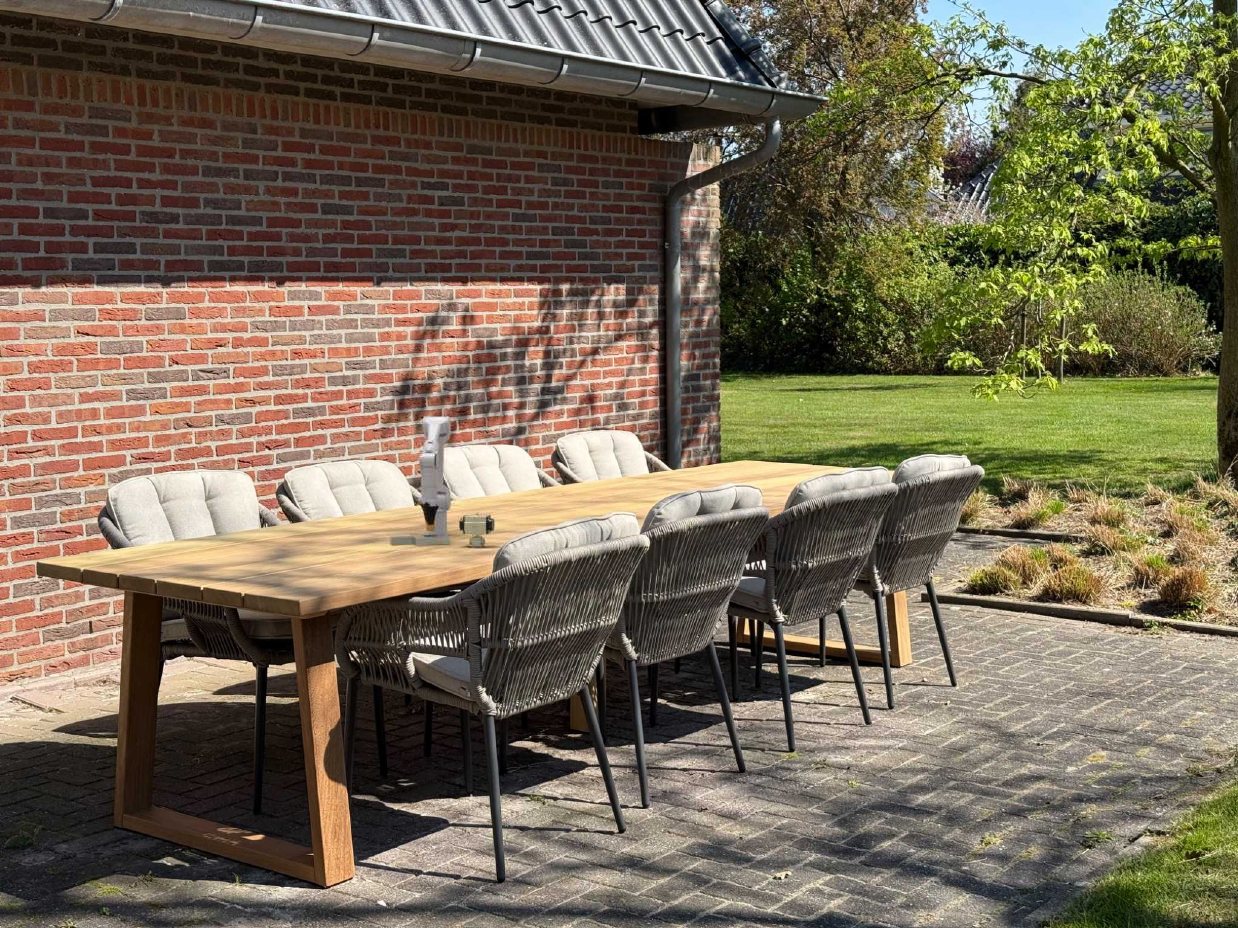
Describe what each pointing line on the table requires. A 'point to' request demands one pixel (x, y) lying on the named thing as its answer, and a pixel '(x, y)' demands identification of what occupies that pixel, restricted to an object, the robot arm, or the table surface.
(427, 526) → the orange cylinder
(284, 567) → the table surface
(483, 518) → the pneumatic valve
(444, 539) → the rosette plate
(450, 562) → the table surface
